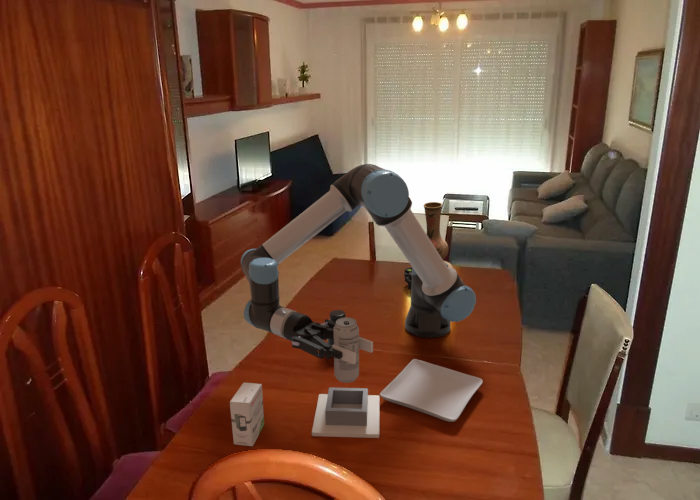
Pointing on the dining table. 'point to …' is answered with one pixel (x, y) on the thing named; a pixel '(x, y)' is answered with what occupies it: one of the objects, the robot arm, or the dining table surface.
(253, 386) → the ink box
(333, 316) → the supplement bottle
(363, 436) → the socket board
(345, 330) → the energy drink can
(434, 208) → the vase
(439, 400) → the salad plate
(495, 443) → the dining table surface
